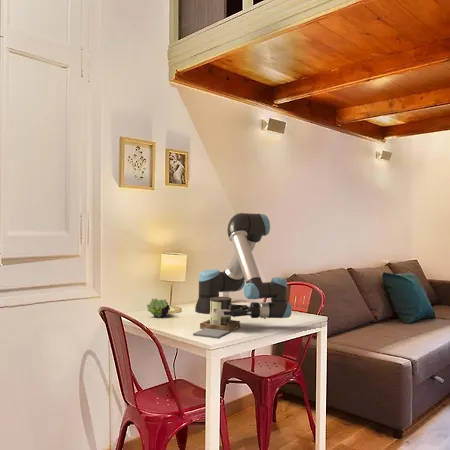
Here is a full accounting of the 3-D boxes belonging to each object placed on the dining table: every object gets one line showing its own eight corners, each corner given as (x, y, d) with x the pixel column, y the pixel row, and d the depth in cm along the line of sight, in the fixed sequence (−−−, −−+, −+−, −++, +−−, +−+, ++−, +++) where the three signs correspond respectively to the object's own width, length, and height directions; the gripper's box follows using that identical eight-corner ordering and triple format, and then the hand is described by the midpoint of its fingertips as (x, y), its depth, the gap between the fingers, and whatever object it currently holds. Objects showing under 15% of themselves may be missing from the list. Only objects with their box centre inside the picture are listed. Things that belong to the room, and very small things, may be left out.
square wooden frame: (199, 328, 212) (200, 323, 212) (213, 323, 225) (213, 318, 225) (227, 332, 206) (228, 326, 206) (239, 326, 219) (239, 321, 219)
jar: (219, 304, 280) (220, 285, 280) (212, 302, 286) (213, 283, 286) (231, 303, 285) (232, 284, 285) (224, 301, 291) (225, 282, 291)
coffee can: (231, 325, 221) (231, 296, 221) (230, 330, 210) (231, 300, 210) (210, 324, 221) (210, 296, 221) (208, 329, 211) (209, 299, 211)
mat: (193, 335, 199) (193, 333, 199) (205, 329, 210) (205, 328, 210) (217, 338, 194) (217, 336, 194) (228, 332, 205) (228, 331, 205)
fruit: (170, 320, 243) (159, 318, 229) (153, 315, 247) (141, 313, 233) (176, 302, 245) (165, 299, 231) (159, 297, 249) (147, 294, 235)
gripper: (263, 323, 205) (217, 323, 203) (254, 312, 230) (212, 312, 228) (264, 307, 205) (217, 306, 203) (254, 298, 230) (213, 298, 228)
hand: (215, 310), depth 215 cm, fingers open, 13 cm apart
